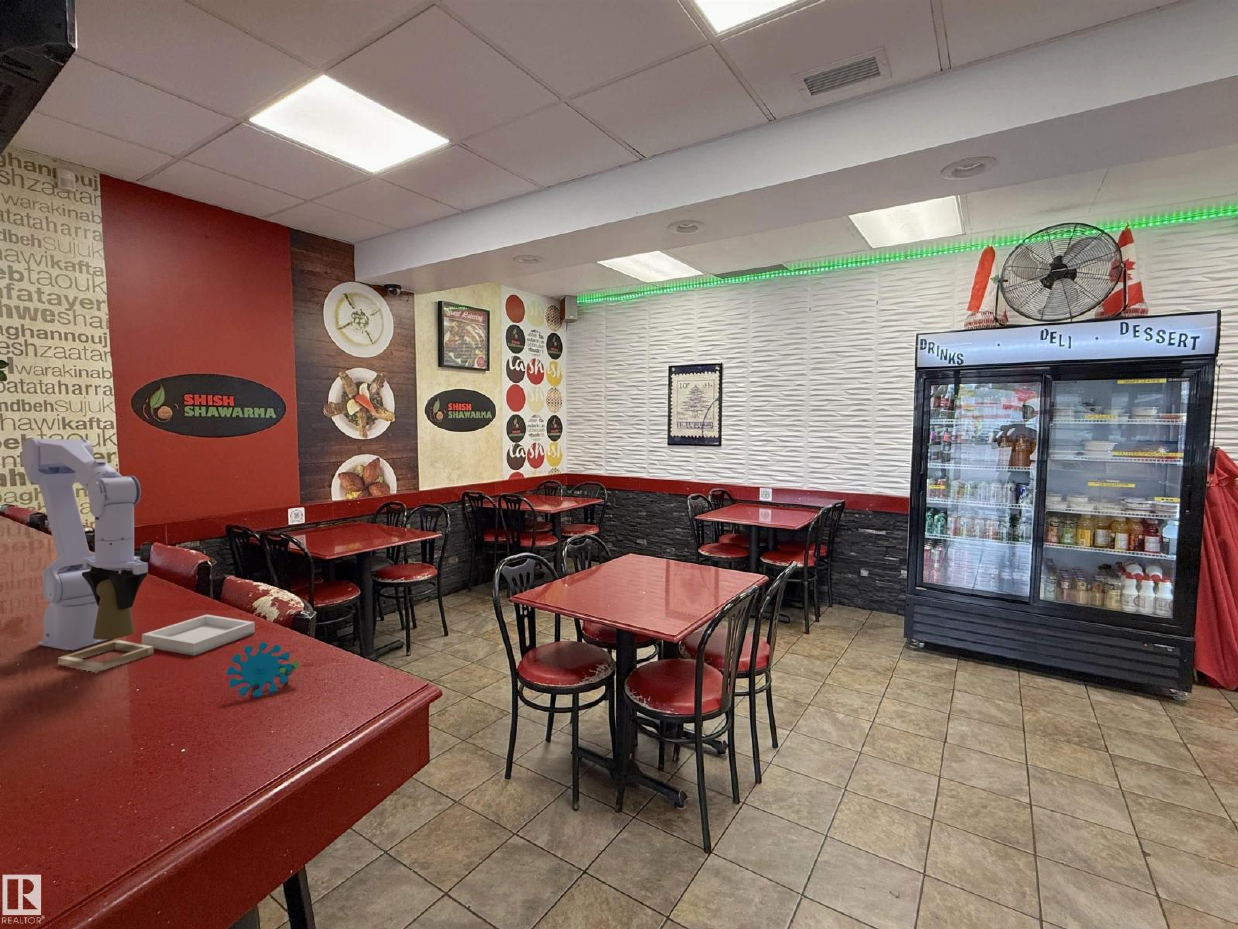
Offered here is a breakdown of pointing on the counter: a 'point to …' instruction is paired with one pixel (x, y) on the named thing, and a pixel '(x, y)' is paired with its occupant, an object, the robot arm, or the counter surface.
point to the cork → (111, 615)
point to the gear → (261, 669)
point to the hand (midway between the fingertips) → (115, 606)
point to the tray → (198, 634)
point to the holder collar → (134, 654)
